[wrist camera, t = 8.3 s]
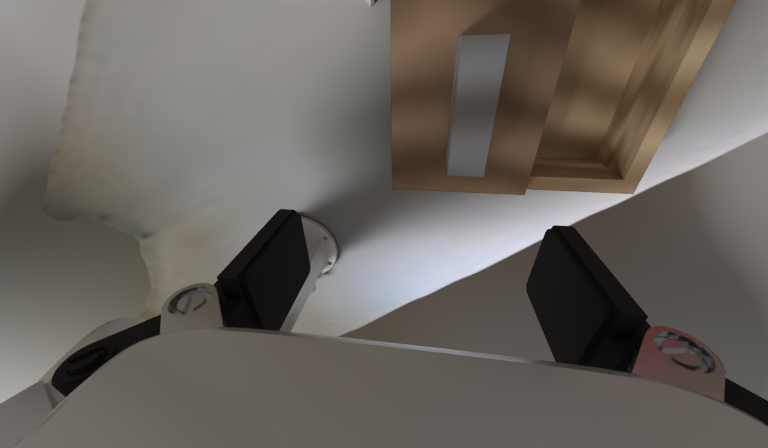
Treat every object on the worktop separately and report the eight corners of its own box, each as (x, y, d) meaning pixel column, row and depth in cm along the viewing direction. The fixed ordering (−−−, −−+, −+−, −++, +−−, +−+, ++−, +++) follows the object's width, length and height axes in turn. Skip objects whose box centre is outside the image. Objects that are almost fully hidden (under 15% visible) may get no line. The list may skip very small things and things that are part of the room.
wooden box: (600, 168, 34) (633, 193, 29) (483, 164, 36) (492, 187, 31) (683, -25, 24) (759, -45, 19) (516, -16, 26) (538, -31, 21)
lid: (521, 189, 30) (539, 220, 25) (393, 184, 32) (385, 211, 27) (583, -35, 20) (634, -60, 15) (392, -23, 22) (379, -41, 17)
